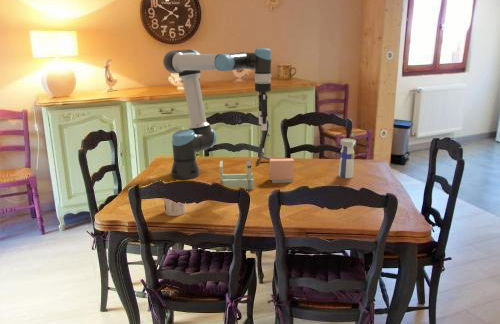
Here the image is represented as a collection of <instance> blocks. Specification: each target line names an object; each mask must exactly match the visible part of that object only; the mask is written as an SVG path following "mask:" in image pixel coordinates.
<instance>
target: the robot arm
mask: <svg viewBox="0 0 500 324" xmlns="http://www.w3.org/2000/svg"><path fill="white" fill-rule="evenodd" d="M162 62H163V66H164V69H165V70H166V71H167V72H169V73H171V74H178V78H180V80H182V84H183V88H184V89H183V90H184V94H185V100H186V104H187V109H188V111H187V112H188V114H189V115H188V116H189V121H190V126H189V127H188V129H180V130H177V131H174V133H173V134H172V139H171V144H172V157H173V159H172V160H173V163H172V166H171V170H170V176H171V178H174V179H178V180H179V179H180V180H187V179H194V178H197V177H199V176H200V174H201V173H200V171H201V170H200V168H199V165H198V162H197V160H196V159H197V157H196V154H197V153H199V152H202V151H205V150H206V151H207V150H209V149H210V148H213V147H214V146H215V144H216V142H217V132H216V131H215V130H214V128H212V127H211V124H210V123H209V122H208V121H207V117H206V110H205V105H204V100H203V95H202V87H201V83H200V75H201V74H202V72H201V71H220V72H229V71H231V72H232V71H238V70H254V82H255V83H254V91H255V92H258V95H257V97H258V107H257V108H258V125H260V131H263V132H264V131H268V116H269V115H268V95H267V93H268V92H271V91H272V83H271V82H272V78H273V75H272V50H271V48H267V47H266V48H265V47H264V48H261V47H260V48H259V47H258V48H255V49H254V52H245V51H239V52H234V53H233V52H232V53H200V52H198V51H197V50H196V49H177V50H176V49H175V50H174V49H173V50H170V51H167V52H166V53H165V55H164V56H163V61H162Z"/></svg>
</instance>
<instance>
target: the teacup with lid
mask: <svg viewBox="0 0 500 324" xmlns="http://www.w3.org/2000/svg"><path fill="white" fill-rule="evenodd" d="M163 202H164V213H165V214H166V216H170V217H177V216H181V215H184V214H185V213H186V211H187V209H186V203H185V204H182V203H176V202H173V201H171V200H169V199H164V198H163Z"/></svg>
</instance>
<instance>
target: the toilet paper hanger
mask: <svg viewBox="0 0 500 324" xmlns="http://www.w3.org/2000/svg"><path fill="white" fill-rule="evenodd" d="M264 154H265V148H264V147H262V149H261V151H260V153H259V156H258V162H257V163H258V164H261V162H262V159H263V160H267V161H269V162H270V159H273V158H272V157H270V156H266V155H264Z"/></svg>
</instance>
